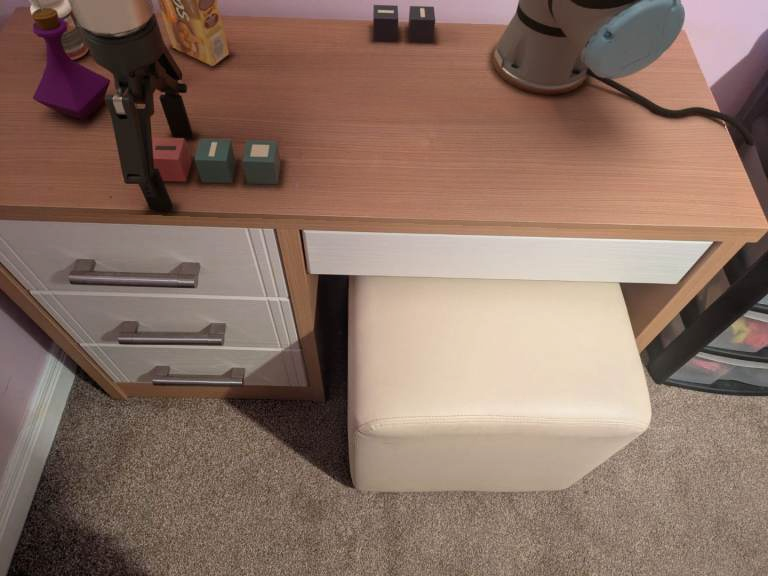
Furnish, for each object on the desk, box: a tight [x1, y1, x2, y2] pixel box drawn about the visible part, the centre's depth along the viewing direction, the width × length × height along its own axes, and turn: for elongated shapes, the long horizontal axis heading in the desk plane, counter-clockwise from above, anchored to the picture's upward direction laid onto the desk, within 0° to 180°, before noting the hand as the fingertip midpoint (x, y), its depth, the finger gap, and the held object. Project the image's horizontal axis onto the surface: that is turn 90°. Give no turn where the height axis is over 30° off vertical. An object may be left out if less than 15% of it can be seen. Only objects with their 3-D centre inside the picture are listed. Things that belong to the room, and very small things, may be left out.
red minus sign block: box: [152, 136, 193, 183], centre depth 73 cm, size 4×4×4 cm
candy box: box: [157, 0, 230, 67], centre depth 83 cm, size 9×4×15 cm, turn 58°
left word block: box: [194, 138, 237, 184], centre depth 73 cm, size 4×4×4 cm
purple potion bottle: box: [30, 0, 111, 121], centre depth 74 cm, size 8×8×18 cm
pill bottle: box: [27, 0, 89, 61], centre depth 84 cm, size 6×6×10 cm
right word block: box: [407, 5, 436, 43], centre depth 93 cm, size 4×4×4 cm
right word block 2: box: [372, 4, 399, 42], centre depth 93 cm, size 4×4×4 cm
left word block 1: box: [242, 139, 281, 185], centre depth 74 cm, size 4×4×4 cm
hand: (172, 169), depth 75 cm, fingers open, 13 cm apart
